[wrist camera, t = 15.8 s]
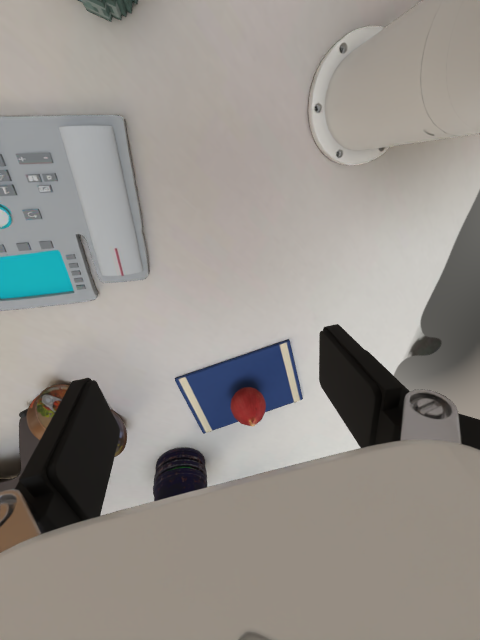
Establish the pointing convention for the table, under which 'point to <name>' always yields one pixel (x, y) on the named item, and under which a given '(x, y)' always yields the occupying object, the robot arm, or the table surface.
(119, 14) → the can
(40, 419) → the tin
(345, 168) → the table surface
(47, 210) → the office telephone
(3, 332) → the table surface
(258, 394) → the onion
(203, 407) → the towel
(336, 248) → the table surface
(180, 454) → the storage jar
